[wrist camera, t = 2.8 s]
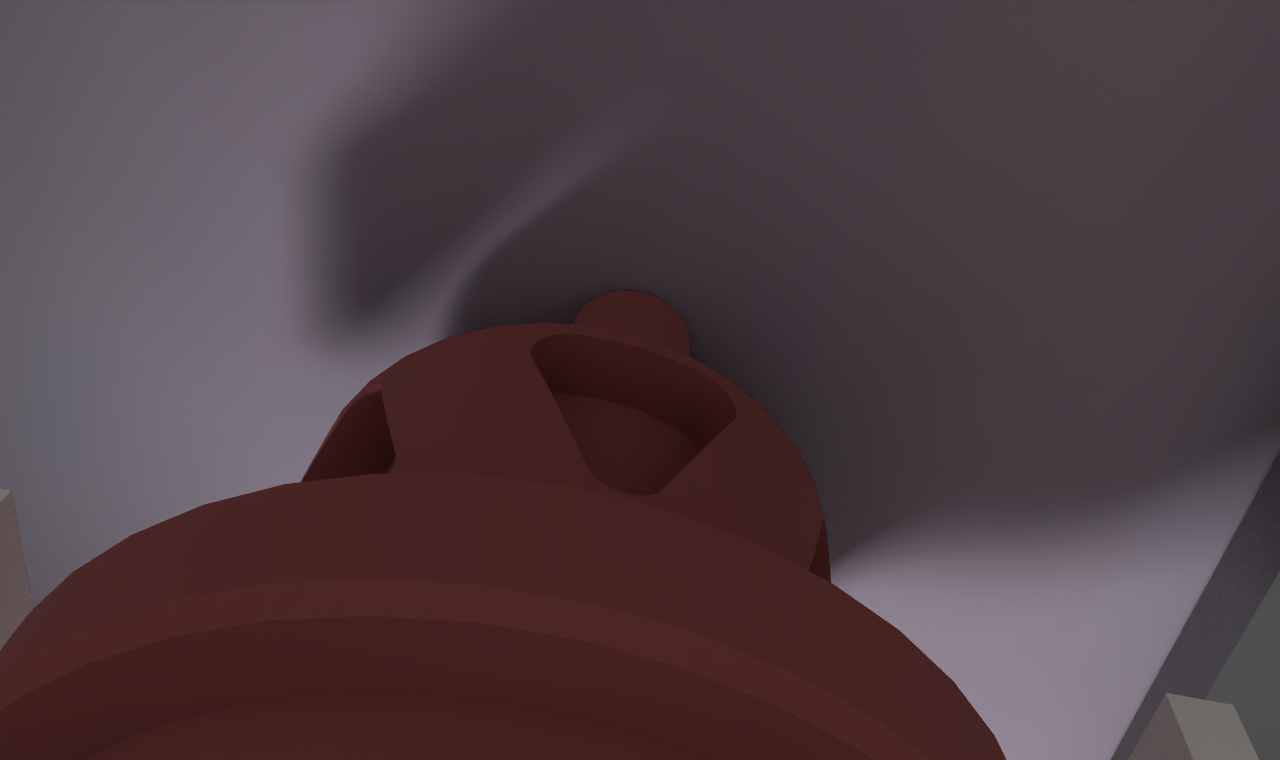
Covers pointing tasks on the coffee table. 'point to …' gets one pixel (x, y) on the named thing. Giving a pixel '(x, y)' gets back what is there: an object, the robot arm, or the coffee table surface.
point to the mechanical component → (495, 585)
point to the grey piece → (1232, 634)
